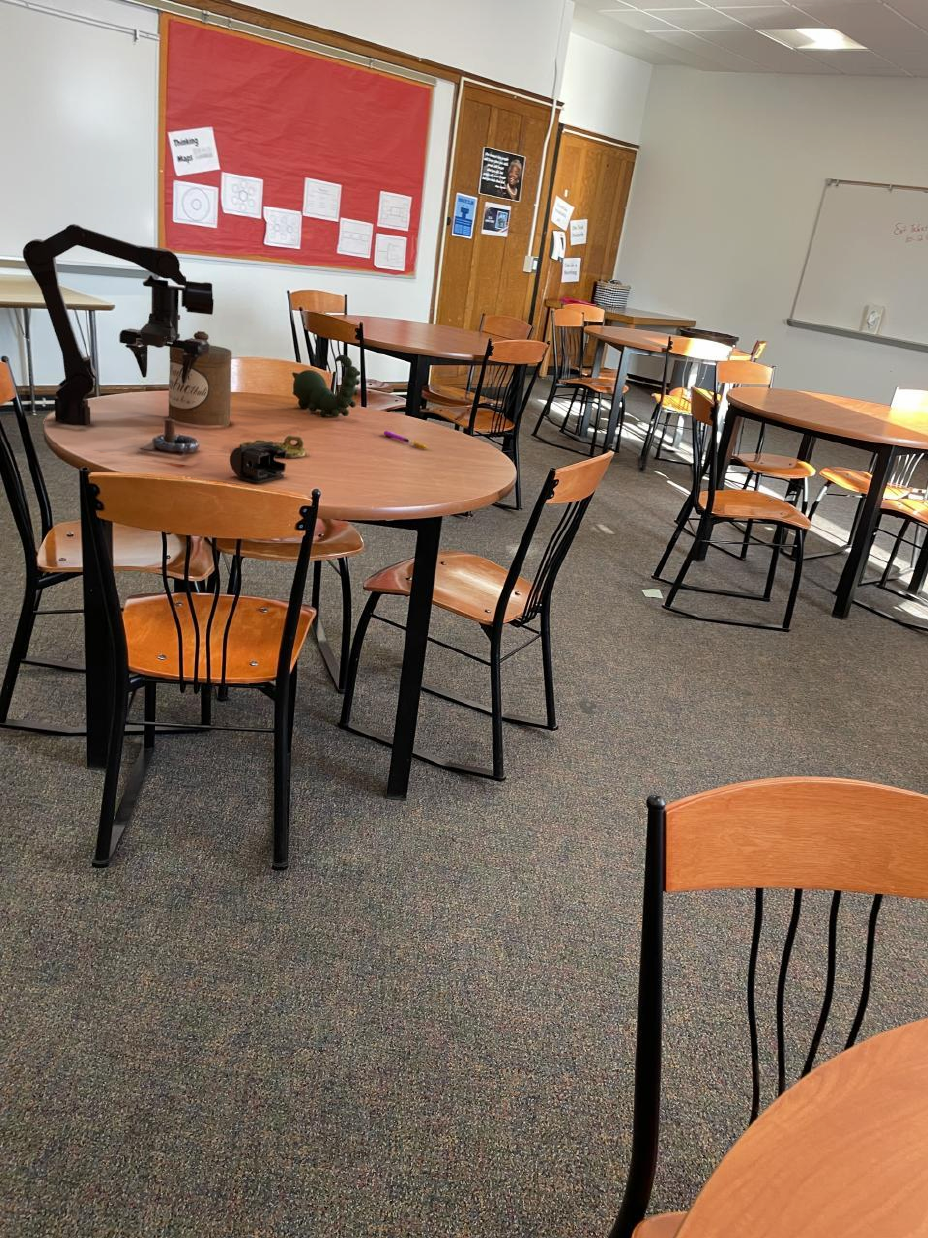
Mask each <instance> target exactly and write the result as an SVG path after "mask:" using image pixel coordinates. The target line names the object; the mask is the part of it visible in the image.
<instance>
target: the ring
mask: <svg viewBox="0 0 928 1238" xmlns="http://www.w3.org/2000/svg"><path fill="white" fill-rule="evenodd" d="M164 436H165V434H158V435H156V436H154V437H153V438H152V439H151V443H152V444H153V445H154V447H155V448H157V449H160V450H162V451H167V452H174V453H186V454H188V453H193V452H195V451H197V450H199V448H200V443H199V441H198V440H197V439H196V438H193V437H192V436H188V435H181V434H174V443H171V442H165V441H164ZM187 452H188V453H187Z"/></svg>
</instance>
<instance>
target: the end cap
mask: <svg viewBox="0 0 928 1238" xmlns="http://www.w3.org/2000/svg"><path fill="white" fill-rule="evenodd" d="M273 442H274V441H266V442H264V443H259V444H253V445H248V446H243V447H239V446H237V447H235V448H234V449H233V450H232V451H231V453H230V455H229V466H230V467H231V468H230V469H232V471H233V473H234V474H235V475H236V476H237V477H238V478H239V479H240V480H242V481H243V482H248V483H251V484H255V485H260V484H264V483H268V482H273V481H276V480H281V479H283V478H285V474H284V472H286V467H287V464H286V463H285V462H281V461H278V460H276V457H275V456H280V457H279V458H282V457H283V459H287V458H286V453H287V452H286V450H284V449H281V448H278V447H274V446H273Z"/></svg>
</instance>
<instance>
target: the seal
mask: <svg viewBox="0 0 928 1238" xmlns="http://www.w3.org/2000/svg"><path fill="white" fill-rule="evenodd" d="M291 441H293V442H296V443H292V442H291ZM264 442H267V441H265V440H260V439H259V440H258V439H257V440H255V441H254V442H251V441H245V442H242V443H240V444H239V446H238V447H243V446H248V445H253V444H259V443H264ZM272 442H273V446H274V447H278V448H281V449H284V450H286V452H287V453H286V458H285V459H295V458H301V457H305V456H306V448H304V439H303V437H300V436H292V435H288V436H286V437H285V439H284V442H276V441H275V442H274V441H272ZM275 458H283V457H280V456H275ZM283 459H284V458H283Z"/></svg>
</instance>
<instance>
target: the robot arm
mask: <svg viewBox="0 0 928 1238" xmlns="http://www.w3.org/2000/svg"><path fill="white" fill-rule="evenodd" d="M76 246H79V247H82V248H85V249H88V250H91V251H96V252H98V253H100V254H101V253H102V254H103V255H108V256H110V257H114V258H117V259H120V260H123V261H127V262H130V263H133V264H134V265H137V266H138V267H141V268H143V269H145V270H146V271H148V272H150V273H152V274H154V275H156V276H158V277H160V278H163V279H156V278H154V277H153V275H152V274H149V275H148V277H147V278H146V279H144V280H143V281H142V286H143V287H148V288H151V303H150V305H151V308H150V309H151V313H149V314H148V321H147V323H145V324H144V325H143V326H142V327H141V329H137V328H126V329H122V330H121V331H120V332H119V336H118V339H119V340H118V341H119V343H120V344H124V345H125V346H124V347H125V348H127V349H129V350H130V351H131V352H132V353H133V355H134V357H135V359H136V363H137V365H138V368H139V370H140V374H141V376H142V378H147V375H148V347H149V346H151V347H155V348H159V349H161V348H164V347H169V348H170V347H174V348H181V349H183V350H184V351H185V352H186V353H185V354H182V358H183V369H182V384H185V383H186V380H187V378H188V376H189V373H190V371H191V369H192V367H193V365H194V363H195V361H196V360H197V358H198V357H201V356H203V354H207V353H209V345H208V343H209V342H208V340H207V341H206V340H201V339H195V338H194V337H190V338H186V339H184V340H181V339H180V337H181V334H180V333H179V321H180V320H181V315H180V314H179V297H181V298H180V302H181V303H180V305H181V307H182V308H184V309H185V310H186V313H191V314H192V313H193V314H201V315H209V316H210V315H211V316H212V315H213V313H214V303H215V302H214V301H215V300H214V295H213V294H214V293H213V284H212V283H211V282H207V281H206V282H205V281H204V282H199V281H192V280H191V281H190V280H187V277H186V275H183V274H182V273H183V272H181V270H180V268H181V264H180V261H179V259H178V256H177V255H176V254H175V253H174V252H173V251H171V250H169V249H167V248H161V247H154V246H147V245H139V244H134V243H131V242H128V241H125V240H122V239H119V238H117V237H113V236H109V235H106V234H103V233H101V232H98V231H94V230H91V229H88V228H84V227H83V226H80V225H79V224H75V223H71V224H69V225H67V226H66V228H64V229H62V230H60V231H58V232H57V233H55V234H53V235H51V236H49V237H47V238H45V239H41V238H35V239H32V240H30V241H28V242H27V243H26V244H25V245H24V246H23V249H22V257H23V259H24V262H25V264H26V265H27V268H28V269H29V271H30V274H31V275H32V277H33V278H34V280H35V282H36V283H37V285H38V287H39V288H40V292H41V295H42V297H43V300H44V303H45V307H46V309H47V312H48V315H49V318H50V322H51V324H52V327H53V330H54V333H55V336H56V340H57V342H58V345H59V348H60V351H61V353H62V354H61V355H62V364H63V371H64V379H63V380H62V381H61V382H60V383H58V385H57V388H56V390H55V394H56V396H54V421H55V422H58V423H59V424H63V425H69V426H88V425H91V407H90V406H89V399H86V398H85V396H86V395H88V394H90V393H91V392H92V391H93V389H94V387H95V379H97V374H98V373H97V370H95V368H94V366H93V360H92V356H91V355H88V356H85V355H84V354H83V352H82V350H81V348H80V345H79V342H78V340H77V336H76V333H75V330H74V328H73V324H72V321H71V318H70V315H69V312H68V309H67V305H66V302H65V299H64V296H63V292H62V290H61V287H60V283H59V274H58V268H57V267H58V266H57V259H56V258H57V257H59V256H60V255H62V254H64V253H66V252H67V251H69V250H71V249H72V248H74V247H76ZM165 279H166V280H165ZM168 279H169V280H171V281H173V282H174V283H175V284H176V285H169V280H168ZM177 285H178V286H177ZM179 293H181V294H180V295H181V296H179ZM207 342H208V343H207Z"/></svg>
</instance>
